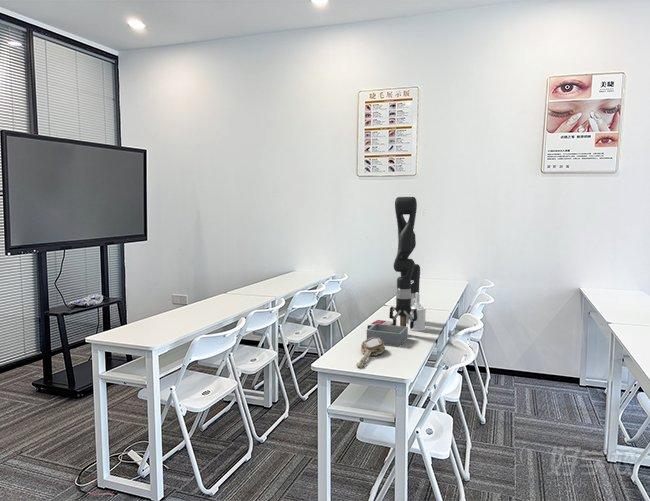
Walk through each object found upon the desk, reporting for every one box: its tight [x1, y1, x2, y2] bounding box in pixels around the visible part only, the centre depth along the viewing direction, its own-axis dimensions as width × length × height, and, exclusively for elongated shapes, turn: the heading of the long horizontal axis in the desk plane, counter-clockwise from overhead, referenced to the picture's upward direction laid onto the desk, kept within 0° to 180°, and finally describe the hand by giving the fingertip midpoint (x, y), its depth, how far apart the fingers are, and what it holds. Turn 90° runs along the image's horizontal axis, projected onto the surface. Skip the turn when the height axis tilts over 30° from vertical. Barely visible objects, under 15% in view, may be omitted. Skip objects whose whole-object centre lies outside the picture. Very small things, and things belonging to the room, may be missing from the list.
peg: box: [399, 316, 407, 327], centre depth 251 cm, size 3×3×10 cm
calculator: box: [366, 319, 393, 331], centre depth 260 cm, size 11×4×15 cm
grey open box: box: [366, 323, 409, 347], centre depth 241 cm, size 14×17×6 cm
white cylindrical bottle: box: [407, 292, 427, 332], centre depth 261 cm, size 10×9×20 cm
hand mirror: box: [355, 337, 386, 368], centre depth 216 cm, size 11×6×30 cm
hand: (403, 327), depth 251 cm, fingers open, 8 cm apart
